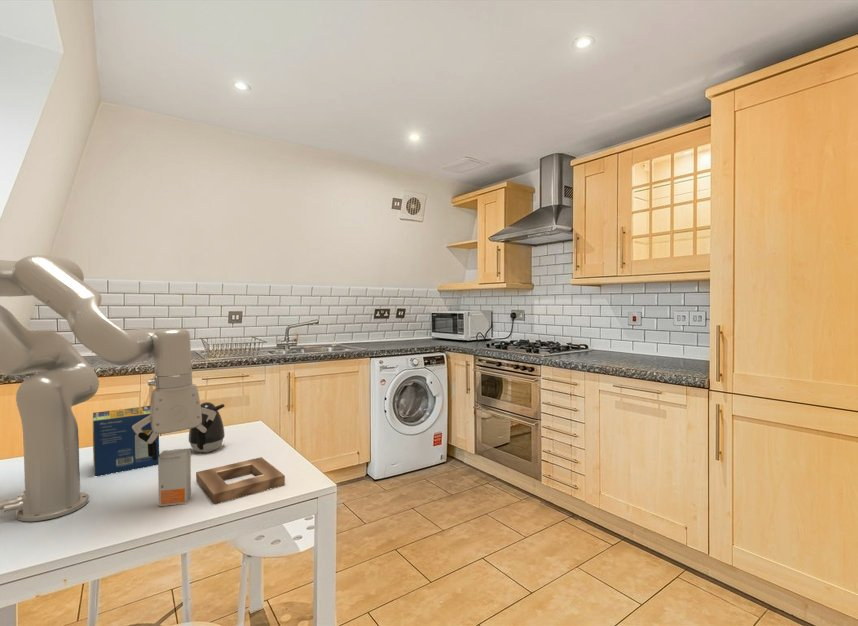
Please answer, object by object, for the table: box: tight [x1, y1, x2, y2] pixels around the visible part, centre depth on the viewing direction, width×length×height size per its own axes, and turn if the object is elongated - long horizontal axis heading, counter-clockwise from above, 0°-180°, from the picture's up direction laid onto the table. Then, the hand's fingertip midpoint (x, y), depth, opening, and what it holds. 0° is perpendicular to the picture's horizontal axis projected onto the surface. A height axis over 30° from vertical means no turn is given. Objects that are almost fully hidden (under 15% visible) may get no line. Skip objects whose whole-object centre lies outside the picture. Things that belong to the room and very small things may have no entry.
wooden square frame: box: [195, 456, 286, 505], centre depth 115 cm, size 17×17×3 cm
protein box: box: [92, 405, 160, 477], centre depth 127 cm, size 10×15×16 cm
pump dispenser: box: [188, 401, 225, 453], centre depth 140 cm, size 10×10×15 cm
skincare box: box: [157, 447, 192, 507], centre depth 104 cm, size 6×4×12 cm
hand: (178, 453), depth 104 cm, fingers open, 9 cm apart
